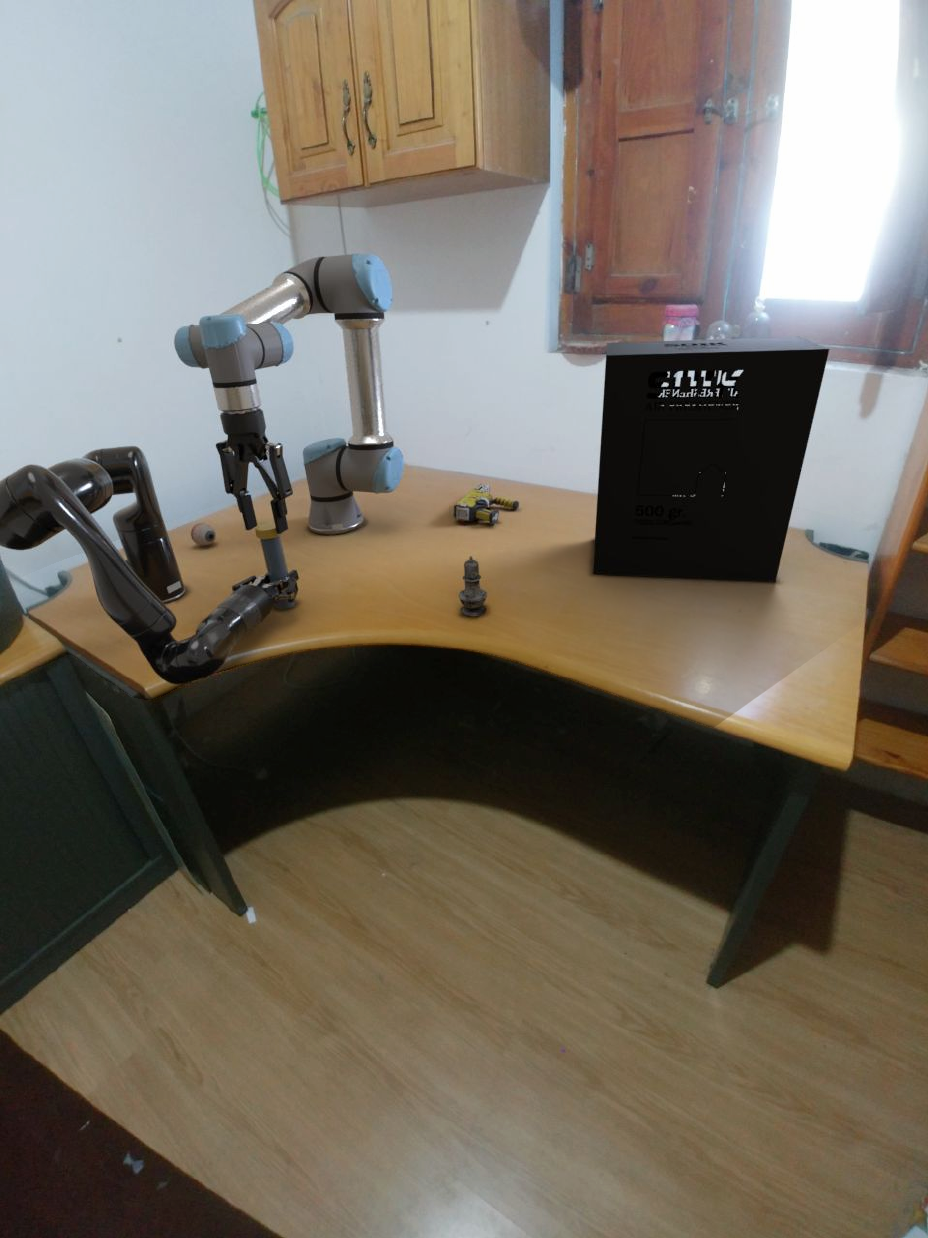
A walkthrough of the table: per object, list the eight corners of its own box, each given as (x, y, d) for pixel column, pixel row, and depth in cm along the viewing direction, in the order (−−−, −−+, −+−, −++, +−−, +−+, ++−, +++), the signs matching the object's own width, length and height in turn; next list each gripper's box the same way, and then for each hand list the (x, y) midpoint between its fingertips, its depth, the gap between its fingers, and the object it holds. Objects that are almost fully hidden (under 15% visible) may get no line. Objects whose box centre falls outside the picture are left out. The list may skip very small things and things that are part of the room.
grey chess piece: (485, 617, 120) (483, 562, 114) (456, 616, 121) (452, 561, 115) (490, 603, 125) (488, 550, 119) (462, 602, 126) (459, 549, 120)
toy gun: (527, 488, 179) (479, 481, 183) (505, 513, 159) (452, 504, 162) (525, 503, 181) (478, 496, 185) (503, 529, 161) (451, 520, 165)
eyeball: (204, 551, 157) (198, 529, 154) (189, 547, 160) (183, 525, 157) (223, 542, 162) (217, 521, 159) (208, 539, 165) (202, 518, 162)
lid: (271, 528, 124) (269, 519, 123) (287, 532, 122) (285, 524, 121) (251, 536, 121) (249, 527, 120) (267, 541, 118) (265, 532, 117)
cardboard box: (755, 543, 144) (798, 336, 121) (775, 581, 127) (829, 348, 104) (594, 538, 151) (606, 342, 129) (592, 573, 134) (606, 355, 112)
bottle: (286, 599, 132) (269, 523, 123) (298, 603, 130) (282, 526, 121) (272, 606, 129) (253, 529, 120) (284, 611, 127) (266, 533, 118)
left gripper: (271, 597, 111) (313, 558, 125) (204, 592, 114) (252, 555, 128) (280, 632, 114) (319, 590, 129) (214, 626, 118) (260, 586, 132)
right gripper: (298, 407, 109) (319, 527, 120) (212, 404, 115) (240, 518, 127) (272, 415, 103) (297, 541, 114) (183, 412, 109) (215, 531, 121)
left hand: (285, 573), depth 128 cm, fingers closed on bottle, 4 cm apart
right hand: (267, 529), depth 120 cm, fingers open, 7 cm apart
